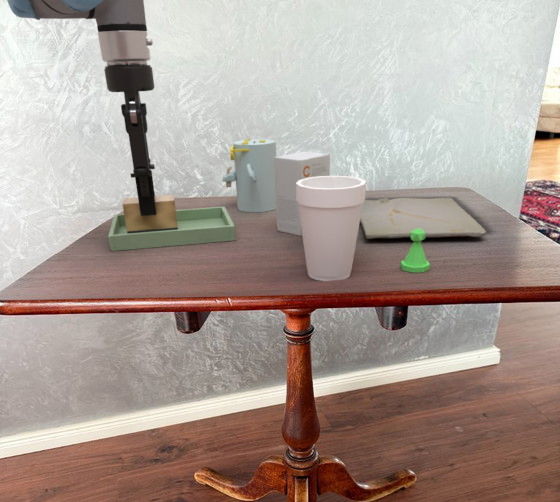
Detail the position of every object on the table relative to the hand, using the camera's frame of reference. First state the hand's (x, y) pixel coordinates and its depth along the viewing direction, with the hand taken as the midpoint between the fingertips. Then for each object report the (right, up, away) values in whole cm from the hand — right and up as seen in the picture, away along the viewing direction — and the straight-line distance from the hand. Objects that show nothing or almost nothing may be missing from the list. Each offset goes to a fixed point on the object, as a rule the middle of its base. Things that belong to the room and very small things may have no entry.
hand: (148, 210), depth 98 cm
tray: (+4, -3, +3) cm, 6 cm away
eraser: (0, -3, +2) cm, 4 cm away
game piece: (+44, -14, -17) cm, 49 cm away
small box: (+28, -3, +3) cm, 28 cm away
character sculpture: (+18, +6, +19) cm, 27 cm away
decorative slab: (+49, -1, +5) cm, 49 cm away
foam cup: (+31, -15, -18) cm, 39 cm away
